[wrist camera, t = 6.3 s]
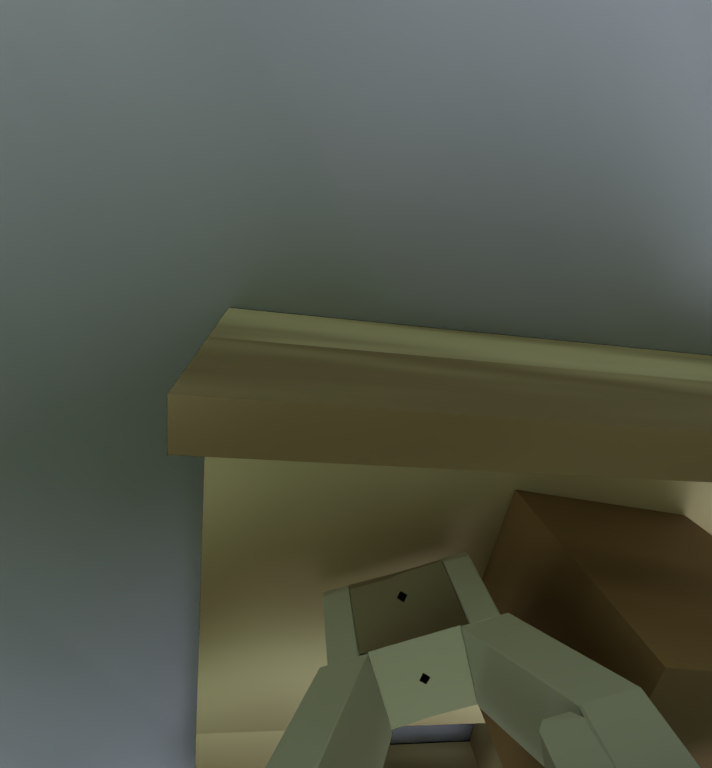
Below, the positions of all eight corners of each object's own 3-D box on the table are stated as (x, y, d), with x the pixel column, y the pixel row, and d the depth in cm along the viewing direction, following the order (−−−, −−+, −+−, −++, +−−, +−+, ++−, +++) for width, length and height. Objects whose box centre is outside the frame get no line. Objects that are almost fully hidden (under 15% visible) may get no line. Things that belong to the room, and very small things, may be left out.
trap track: (785, 749, 20) (1030, 1012, 13) (208, 780, 16) (152, 1162, 10) (987, 383, 15) (1531, 509, 8) (228, 307, 11) (143, 428, 5)
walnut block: (612, 659, 12) (773, 877, 8) (456, 648, 12) (549, 884, 7) (684, 515, 11) (915, 686, 7) (515, 489, 10) (665, 667, 6)
